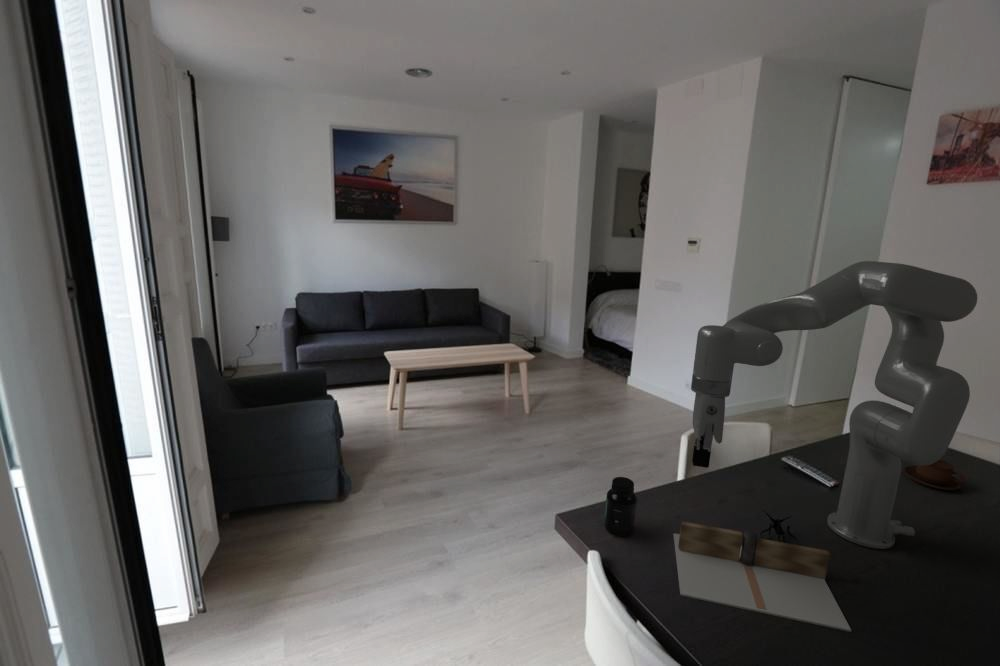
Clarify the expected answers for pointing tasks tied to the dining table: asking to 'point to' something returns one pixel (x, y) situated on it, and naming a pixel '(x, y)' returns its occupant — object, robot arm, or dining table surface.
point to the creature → (778, 528)
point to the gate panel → (710, 540)
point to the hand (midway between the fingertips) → (700, 464)
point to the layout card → (757, 588)
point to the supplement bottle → (621, 508)
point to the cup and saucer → (936, 475)
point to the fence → (783, 556)
